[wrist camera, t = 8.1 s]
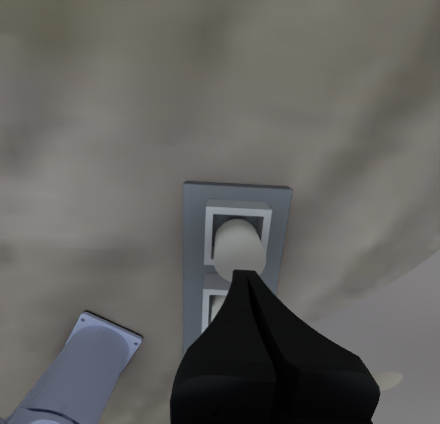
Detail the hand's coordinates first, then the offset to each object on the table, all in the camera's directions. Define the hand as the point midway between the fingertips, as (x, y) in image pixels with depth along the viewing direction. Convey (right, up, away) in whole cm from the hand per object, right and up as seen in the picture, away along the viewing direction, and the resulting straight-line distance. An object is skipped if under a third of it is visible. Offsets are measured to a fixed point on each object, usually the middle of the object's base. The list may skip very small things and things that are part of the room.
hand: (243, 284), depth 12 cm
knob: (0, +2, +5) cm, 5 cm away
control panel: (0, -4, +11) cm, 12 cm away
